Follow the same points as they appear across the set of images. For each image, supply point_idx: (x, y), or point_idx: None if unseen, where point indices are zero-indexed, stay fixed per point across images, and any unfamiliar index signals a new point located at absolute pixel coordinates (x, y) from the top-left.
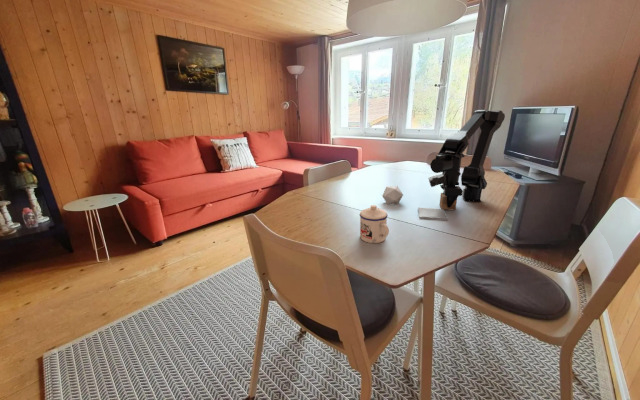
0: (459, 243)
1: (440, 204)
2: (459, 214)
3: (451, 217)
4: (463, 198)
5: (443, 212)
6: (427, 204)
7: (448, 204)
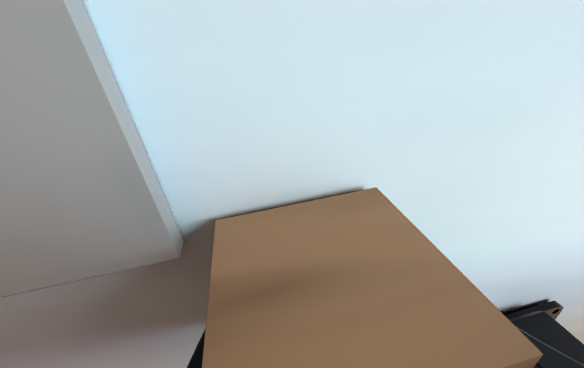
0: None
1: (315, 218)
2: (158, 349)
3: (6, 325)
4: (509, 320)
5: (27, 275)
6: (389, 19)
7: (201, 350)
